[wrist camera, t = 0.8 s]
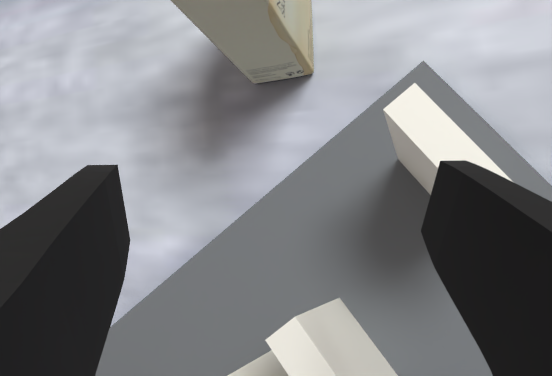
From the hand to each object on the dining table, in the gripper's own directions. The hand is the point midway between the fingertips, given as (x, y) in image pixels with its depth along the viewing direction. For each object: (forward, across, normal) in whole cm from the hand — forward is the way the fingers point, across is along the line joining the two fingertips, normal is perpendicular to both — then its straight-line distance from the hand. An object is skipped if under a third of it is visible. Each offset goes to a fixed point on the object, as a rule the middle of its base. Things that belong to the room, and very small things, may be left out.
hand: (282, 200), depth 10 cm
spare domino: (+11, -10, +7) cm, 17 cm away
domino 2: (+7, -6, +14) cm, 17 cm away
